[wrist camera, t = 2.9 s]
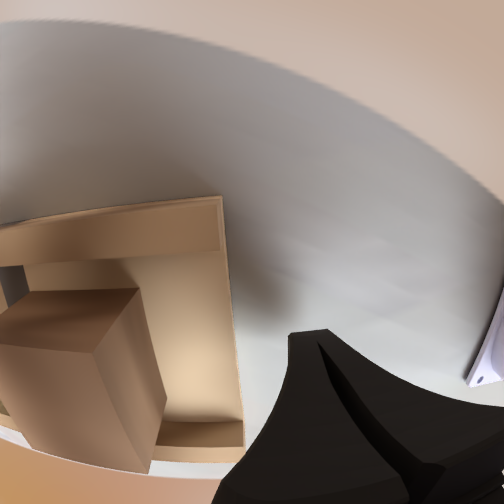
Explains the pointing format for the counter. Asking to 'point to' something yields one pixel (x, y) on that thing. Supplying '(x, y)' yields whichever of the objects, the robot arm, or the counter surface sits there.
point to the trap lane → (150, 305)
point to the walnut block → (83, 376)
